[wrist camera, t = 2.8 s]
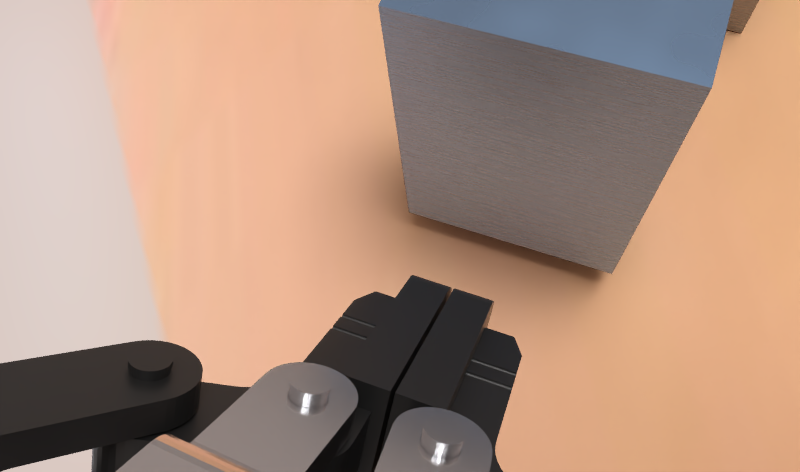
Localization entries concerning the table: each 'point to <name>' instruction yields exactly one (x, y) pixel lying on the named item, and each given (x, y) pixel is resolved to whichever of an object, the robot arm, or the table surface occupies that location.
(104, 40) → the table surface
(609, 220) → the silver metal piece
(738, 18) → the bearing block
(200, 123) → the table surface
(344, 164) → the table surface
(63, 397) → the robot arm
